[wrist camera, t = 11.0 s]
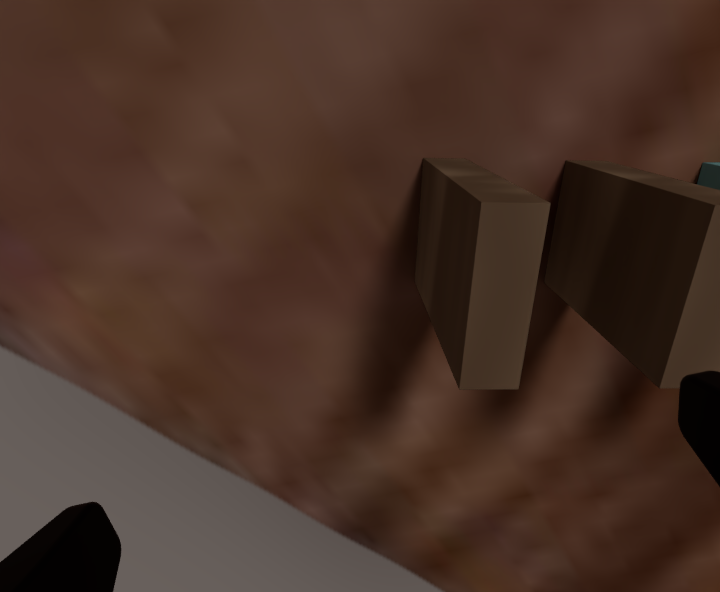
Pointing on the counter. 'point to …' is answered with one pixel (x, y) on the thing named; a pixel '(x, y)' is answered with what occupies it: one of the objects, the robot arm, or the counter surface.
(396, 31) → the counter surface
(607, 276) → the walnut domino
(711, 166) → the teal domino
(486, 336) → the walnut domino
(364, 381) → the counter surface
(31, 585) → the robot arm
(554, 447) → the counter surface
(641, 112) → the counter surface
